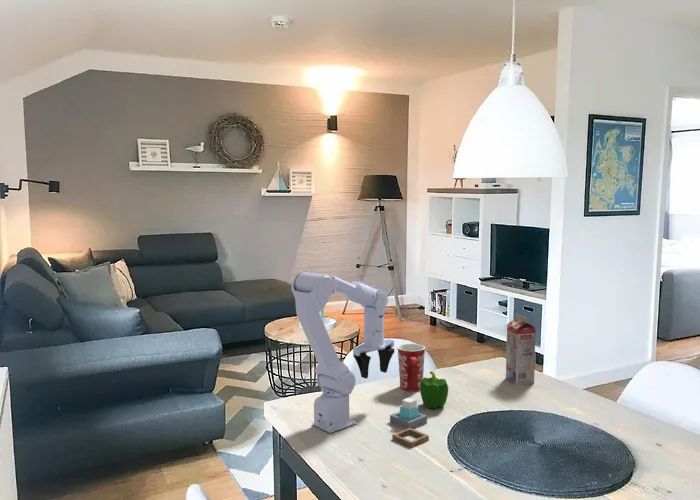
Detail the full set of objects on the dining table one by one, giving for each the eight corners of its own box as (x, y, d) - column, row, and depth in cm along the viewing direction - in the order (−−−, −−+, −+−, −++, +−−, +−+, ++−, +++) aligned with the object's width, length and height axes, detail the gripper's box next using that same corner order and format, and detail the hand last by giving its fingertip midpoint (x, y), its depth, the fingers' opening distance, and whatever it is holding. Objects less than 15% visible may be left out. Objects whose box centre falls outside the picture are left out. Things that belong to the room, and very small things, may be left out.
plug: (409, 425, 161) (409, 403, 160) (400, 421, 163) (400, 399, 163) (418, 421, 163) (418, 400, 162) (409, 418, 166) (409, 396, 165)
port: (408, 430, 158) (408, 421, 158) (390, 422, 164) (390, 414, 164) (427, 422, 163) (427, 414, 163) (408, 415, 168) (408, 407, 168)
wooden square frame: (410, 447, 148) (410, 443, 148) (392, 439, 153) (392, 434, 153) (428, 440, 152) (428, 435, 152) (410, 432, 157) (410, 427, 157)
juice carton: (516, 384, 193) (517, 318, 190) (505, 378, 199) (507, 314, 197) (534, 383, 194) (535, 317, 192) (523, 376, 201) (525, 313, 198)
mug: (396, 383, 195) (396, 343, 194) (423, 382, 195) (423, 343, 194) (398, 396, 183) (399, 354, 181) (428, 396, 183) (428, 354, 181)
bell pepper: (448, 412, 171) (448, 378, 169) (419, 410, 172) (419, 377, 171) (448, 401, 179) (448, 369, 178) (420, 400, 180) (421, 368, 179)
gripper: (364, 336, 164) (364, 383, 166) (401, 327, 174) (401, 372, 175) (348, 331, 170) (348, 377, 171) (384, 323, 179) (384, 367, 180)
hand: (374, 374), depth 174 cm, fingers open, 7 cm apart
